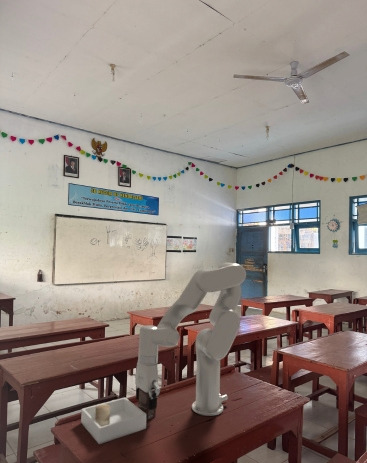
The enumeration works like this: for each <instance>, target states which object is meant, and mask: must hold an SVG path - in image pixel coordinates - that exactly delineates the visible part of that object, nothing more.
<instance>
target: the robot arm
mask: <svg viewBox="0 0 367 463" xmlns="http://www.w3.org/2000/svg"><path fill="white" fill-rule="evenodd" d="M246 278H247V271H246V269H245V268H244V266H243V265H241V264H239V263H233V262H224V263H220V264H219V265H218V267H217V268H216V269H212V270H211V269H210V270H209V269H199V270H197V271H196V272H194V273H193V275H192V276H191V278H190V280H189V281H188V283H187V285H186V286H185V287H184V289H183V291H182V292H181V294H180V296H179V297H178V299H177V300H176V301H175V302H173V304H171V306H170V307H169V308H168V309H167V311H166V312H165V314H164V315H163V316H162V318H161V319H160V321H159V323H158V324H157V326H156V325H151V324H150V325H143V326H141V327H140V329H139V335H138V337H139V339H138V359H137V363H136V369H135V374H134V378H135V379H134V384H135V389H136V393H135V400H139V388H140V389H141V390H143V391H144V392H146V393H148V392H149V395H150V398H149V410H151V409H155V408H156V409H157V404H158V398H159V396H160V392H161V388H160V386H159V370H158V369H159V368H158V367H159V366H158V363H159V362H158V360H159V347H164V348H165V347H166V348H172V347H175V346H176V345H178V343H179V342H180V339H181V336H180V333H179V331H178V330H177V327H178V326H179V325H180V323H181V321H182V320H183V319H184V318H185V317H187V316H188V315H190V314H193V313H194V312H196V311H197V310H198V309H199V306H200V304H201V303H202V302H203V300H204V298H206V295H207V294H208V293H216V292H219V294H218V297H217V299H216V301H215V303H214V305H213V308H212V309H211V311H210V313H209V316H208V318H209V322H210V324H211V325H212V326H213V329H212V328H203V329H201V330H200V331H199V332H198V333H197V335H196V337H195V352H196V353H195V355H196V373H195V374H196V375H195V376H196V378H195V380H196V382H195V401H193V403H192V404H191V408H192V411H193V412H195V413H196V414H198V415H200V416H206V417H209V416H210V417H211V416H212V417H213V416H218V415H220V414H222V412H224V405H223V404H222V403H224V402H225V401H227V400H228V399H229V396H228V395H227V394H224V395H221V392H220V388H221V382H220V381H221V379H220V378H221V360H222V359H224V358H225V357H226V356H227V354H228V353H229V351H230V349H231V347H232V345H233V343H234V341H235V339H236V337H237V334H238V332H239V330H240V325H241V318H240V315H239V314H238V313H237V311H236V310H237V307H238V304H239V302H240V299H241V297H242V296H241V295H242V286H241V284H242V283H244V281H245V280H246ZM151 388H153V389H152V390H151ZM152 392H154V394H153V395H152Z"/></svg>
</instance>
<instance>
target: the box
mask: <svg viewBox="0 0 367 463" xmlns="http://www.w3.org/2000/svg"><path fill="white" fill-rule="evenodd" d="M152 389H153V388H151V390H152ZM153 394H154V392H152V395H153ZM149 398H150V395H149V392H148V393H146V392H144V391H143V390H141V389H140V388H139V400H138V404H137V405H138V406H137V407H138V408H139V409H140V410H142V411H143V412H144V413H146V420H151V419H152V418H154V417H156V415H157V414H156V413H157V412H156V410H157V408H155V409H151V410H149Z"/></svg>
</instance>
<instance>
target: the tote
mask: <svg viewBox="0 0 367 463" xmlns="http://www.w3.org/2000/svg"><path fill="white" fill-rule="evenodd" d="M101 404H107V405H109V406H110V424H109V425H106V426H102V427H101V426H100V425H99V424H98V423H97V422H96V421H95V412H96V406H98V405H101ZM80 419H81V420H80V423H81V424H82V426H83V427H84V428H85V429H86V430H87V432H88V433H89V434H90V435H91V437H92V438H93V439H94V440H95V442H96V443H97V444H98V445H101V444H104V443H107V442H108V443H109V442H110V441H114V440H116V439H120V438H122V437H125V436H128V435H130V434H134V433H138V432H140V431H143V430H146V429H147V419H146V413H144V412H143V411H142V410H140V409H139V408H138V406H137V405H136V404H135V403H133V402H131V401H130V400H129V399H128V398H127V397H122V398H117V399H113V400H110V401H107V402H102V403H98V404H94V405H91V406H88V407H84V408H81V418H80Z"/></svg>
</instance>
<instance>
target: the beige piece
mask: <svg viewBox="0 0 367 463" xmlns="http://www.w3.org/2000/svg"><path fill="white" fill-rule="evenodd" d="M100 404H101V405H98V404H97V405H98V406H96V412H95V421H96V422H97V423H98V424H99V425H100V426H101V427H102V426H106V425H109V424H110V406H109V405H107V404H102V403H100Z"/></svg>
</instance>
